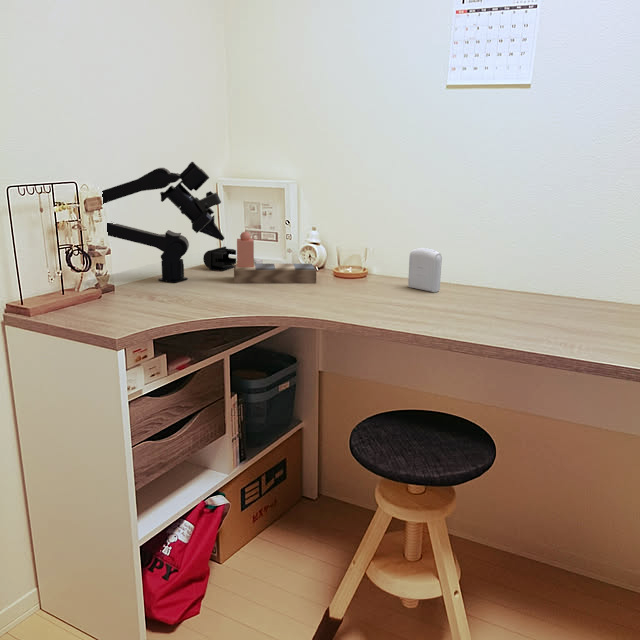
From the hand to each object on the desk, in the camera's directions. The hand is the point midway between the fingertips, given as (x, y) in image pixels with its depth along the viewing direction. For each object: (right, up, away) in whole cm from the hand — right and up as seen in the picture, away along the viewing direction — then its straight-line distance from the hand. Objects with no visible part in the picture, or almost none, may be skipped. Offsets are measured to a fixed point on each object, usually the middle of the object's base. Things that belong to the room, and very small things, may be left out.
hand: (223, 239), depth 197 cm
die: (+8, -9, +17) cm, 21 cm away
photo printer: (+60, -15, -2) cm, 62 cm away
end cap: (-4, -7, +22) cm, 24 cm away
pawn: (+6, -8, +3) cm, 10 cm away
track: (+15, -12, +5) cm, 20 cm away
